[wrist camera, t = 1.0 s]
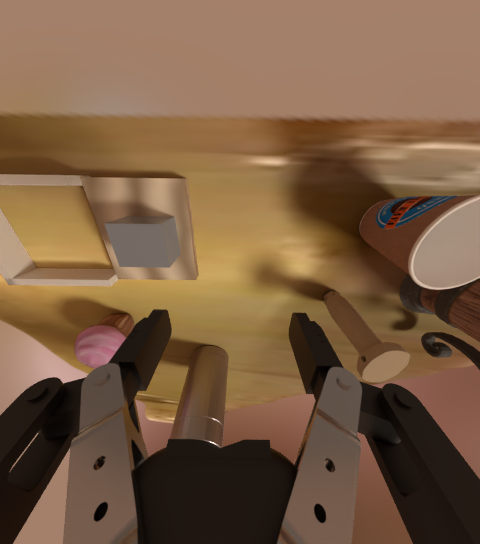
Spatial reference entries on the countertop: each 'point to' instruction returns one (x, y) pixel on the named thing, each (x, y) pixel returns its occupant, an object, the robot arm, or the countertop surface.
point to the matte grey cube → (144, 241)
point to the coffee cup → (428, 237)
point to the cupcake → (103, 340)
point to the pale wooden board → (145, 202)
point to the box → (16, 261)
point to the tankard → (447, 314)
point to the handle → (366, 342)
